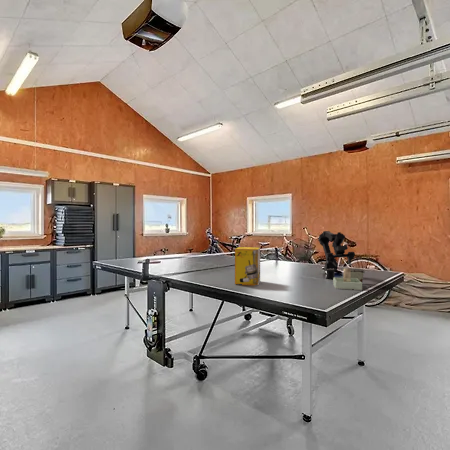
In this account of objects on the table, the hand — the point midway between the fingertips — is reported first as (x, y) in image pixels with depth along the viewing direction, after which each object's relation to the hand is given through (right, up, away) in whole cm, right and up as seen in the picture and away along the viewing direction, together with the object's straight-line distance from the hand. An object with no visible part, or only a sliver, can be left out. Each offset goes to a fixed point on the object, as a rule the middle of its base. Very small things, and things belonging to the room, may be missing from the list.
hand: (343, 266), depth 206 cm
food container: (+11, -14, +8) cm, 19 cm away
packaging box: (-65, -14, +8) cm, 67 cm away
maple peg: (0, -13, -5) cm, 14 cm away
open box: (0, -13, -5) cm, 14 cm away
